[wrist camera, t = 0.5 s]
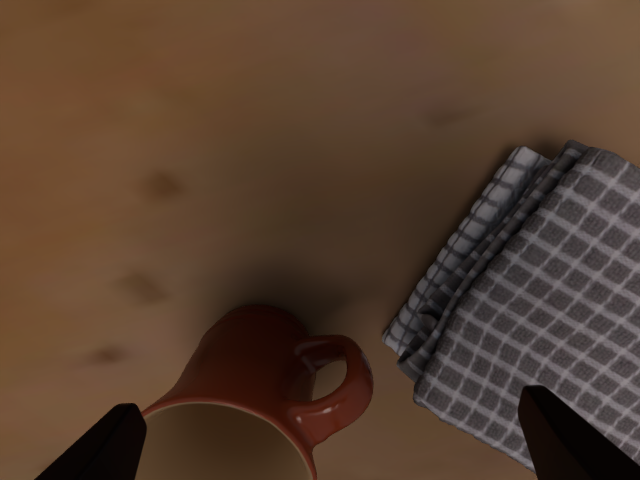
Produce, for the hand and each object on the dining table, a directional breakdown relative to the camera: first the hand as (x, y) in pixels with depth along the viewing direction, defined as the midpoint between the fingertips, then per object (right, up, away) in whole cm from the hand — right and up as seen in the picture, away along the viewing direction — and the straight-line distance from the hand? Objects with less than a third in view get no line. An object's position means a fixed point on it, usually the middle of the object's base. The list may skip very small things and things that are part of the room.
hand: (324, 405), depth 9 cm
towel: (+15, 0, +15) cm, 21 cm away
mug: (-3, -2, +17) cm, 17 cm away
